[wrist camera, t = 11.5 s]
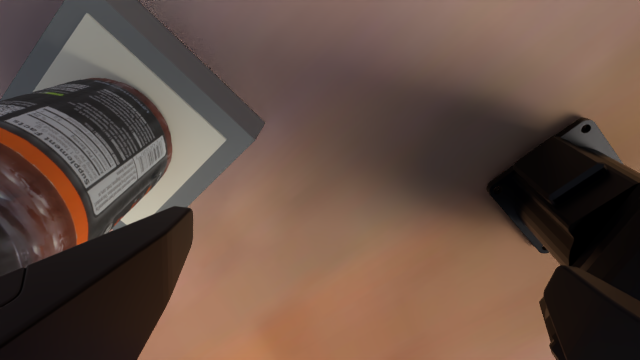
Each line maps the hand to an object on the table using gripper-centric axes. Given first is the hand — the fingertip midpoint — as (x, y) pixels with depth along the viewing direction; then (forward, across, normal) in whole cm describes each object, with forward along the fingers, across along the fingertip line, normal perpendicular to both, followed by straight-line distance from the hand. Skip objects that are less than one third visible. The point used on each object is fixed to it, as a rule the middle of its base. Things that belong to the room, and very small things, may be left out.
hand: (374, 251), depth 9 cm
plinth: (+13, +12, +2) cm, 18 cm away
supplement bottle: (+10, +12, +2) cm, 16 cm away
